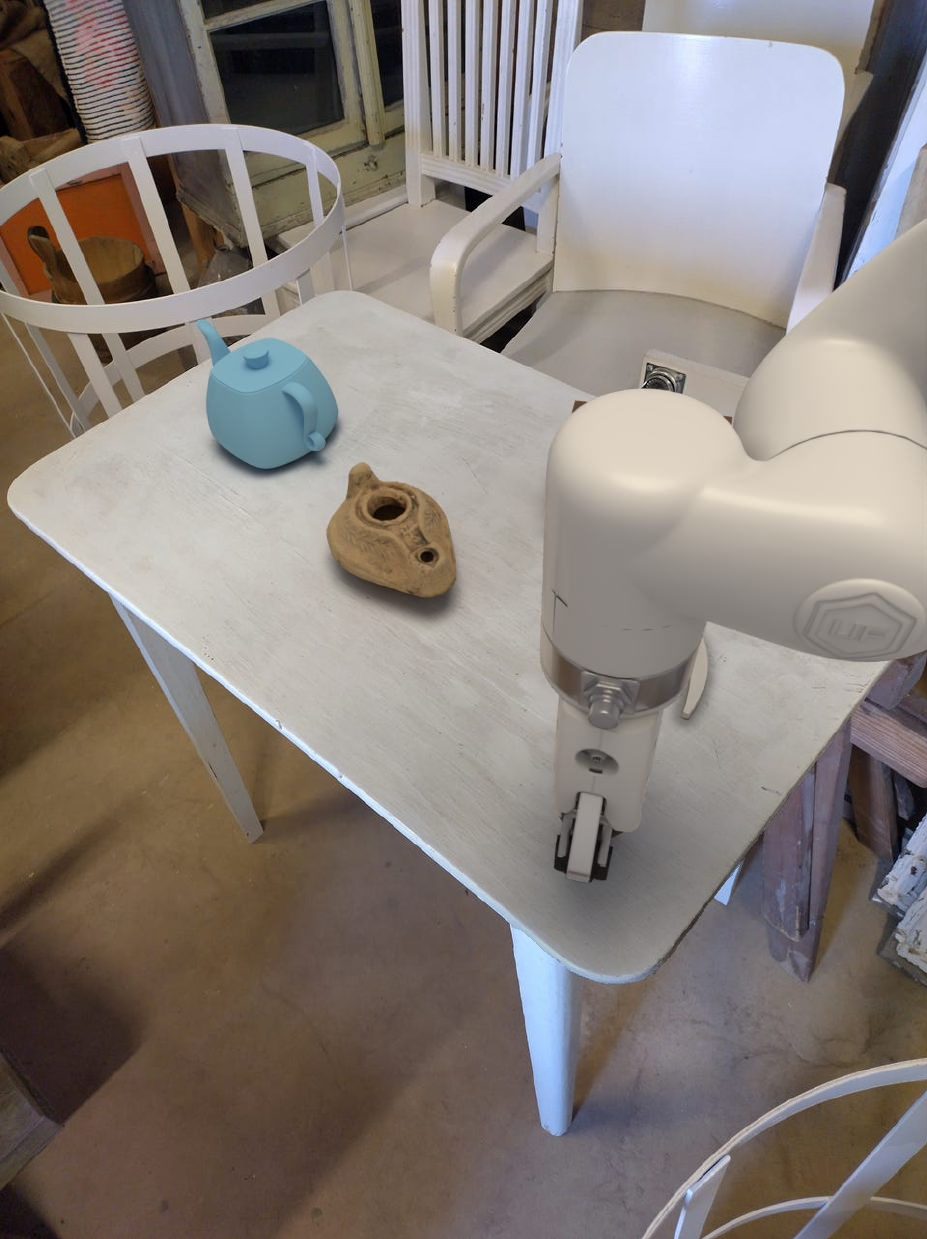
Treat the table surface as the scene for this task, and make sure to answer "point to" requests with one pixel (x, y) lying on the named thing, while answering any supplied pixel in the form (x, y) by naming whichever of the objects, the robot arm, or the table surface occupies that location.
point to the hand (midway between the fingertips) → (592, 800)
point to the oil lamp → (392, 535)
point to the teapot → (266, 400)
